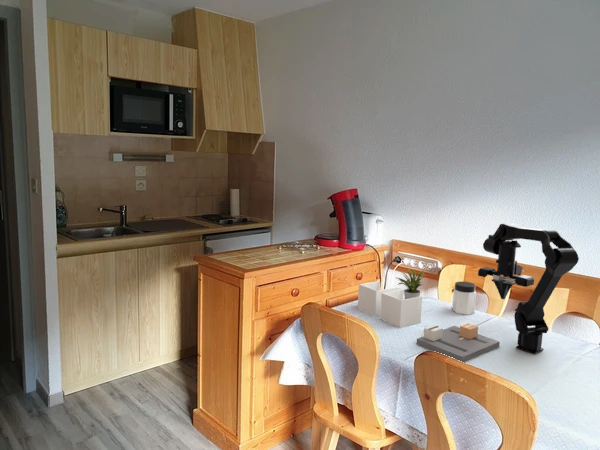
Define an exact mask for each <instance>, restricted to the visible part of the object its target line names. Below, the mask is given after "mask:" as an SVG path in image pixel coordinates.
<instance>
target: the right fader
mask: <svg viewBox="0 0 600 450" xmlns="http://www.w3.org/2000/svg"><path fill="white" fill-rule="evenodd" d="M459 328H460V333H459V336H462V337H464V338H467V339H472V338H474V337H477V336H478V334H479V326H478V325H475V324H473V323H465V324H462V325H460V327H459Z"/></svg>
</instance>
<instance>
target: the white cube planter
mask: <svg viewBox="0 0 600 450" xmlns="http://www.w3.org/2000/svg"><path fill="white" fill-rule="evenodd" d="M404 290H405V289H398V288H397V286H393V287H390V288H389V287H388V288H384V289H381V281H380V280H377V281H371V282H365V283H358V298H357V299H358V300H357V310H359V311H361V310H362V311H361V312H363V311H364V313H366V314H368V315H370V316H372V315H373V316H372V317H374V316H375V318H377V317H380V318H379V319H380V320H381V321H384V322H386V323H388V324H390V325H392V326H394V325H395V326H394V327H396V328H399V329H402V328H405V327H410V326H414V325H418V324H421V321H422V320H421V319H422V308H423V307H422V305H423V304H422V303H423V296H422V295H420V296H419V297H415V298H410V299H405V298H404V297H405V295H404ZM376 316H377V317H376Z"/></svg>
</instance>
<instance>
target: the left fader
mask: <svg viewBox="0 0 600 450" xmlns="http://www.w3.org/2000/svg"><path fill="white" fill-rule="evenodd" d="M443 328H444V327H441V326H439V325H435V324H432V325H428V326H426V327H424V328H423V336H424V338H426V339H429V340H431V341H435V340H438V339H441V338H442V332H443Z"/></svg>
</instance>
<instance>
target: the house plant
mask: <svg viewBox="0 0 600 450" xmlns="http://www.w3.org/2000/svg"><path fill="white" fill-rule="evenodd" d="M405 271H406V272H407V273H408V274H406V273H405V272H403V271H401V270H399V273H401V275H403V276H404V278H405V279H403V278H400V277H394V278H395V279H397V280H398V281H399V283H398V284H397V285H399V286H400V285H404V286H405V287H406V288H405V289H403V290H404V300H405V299H410V298H415V297H419V296H421V291H420V290H419V289H418V288H419V287H421V286H423V283H422V279H423V278H424V277H425V275H424V273H425V272H426V271H427V269H425V270H419V271H418V272H417V273H416V269H414V270H413V272H412V271H411V269H410V268H409V267H407V270H405Z"/></svg>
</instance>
